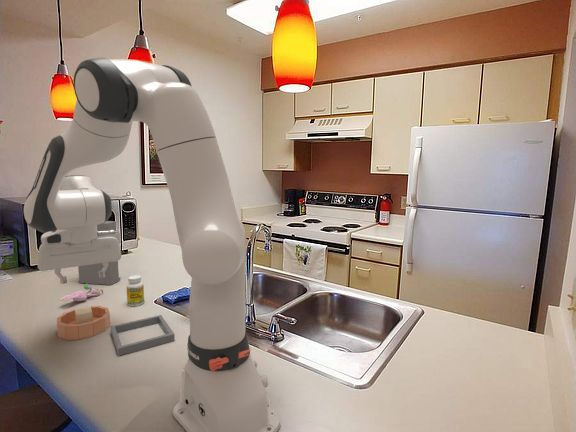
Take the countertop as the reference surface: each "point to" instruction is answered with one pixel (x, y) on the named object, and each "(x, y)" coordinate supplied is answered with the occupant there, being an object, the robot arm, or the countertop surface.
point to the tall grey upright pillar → (100, 265)
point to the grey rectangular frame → (144, 343)
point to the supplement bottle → (135, 291)
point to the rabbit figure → (82, 294)
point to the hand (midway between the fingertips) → (83, 280)
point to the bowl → (83, 324)
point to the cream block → (83, 315)
